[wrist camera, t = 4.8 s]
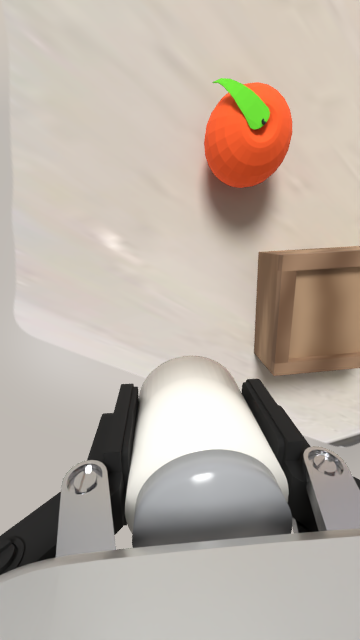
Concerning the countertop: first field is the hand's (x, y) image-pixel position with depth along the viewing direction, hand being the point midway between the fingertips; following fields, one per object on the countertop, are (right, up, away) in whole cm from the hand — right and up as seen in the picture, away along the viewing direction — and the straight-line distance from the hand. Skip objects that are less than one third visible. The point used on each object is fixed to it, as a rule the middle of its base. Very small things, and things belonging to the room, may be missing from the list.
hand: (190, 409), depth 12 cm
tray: (+14, +6, +18) cm, 24 cm away
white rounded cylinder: (0, 0, +1) cm, 1 cm away
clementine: (+4, +21, +12) cm, 24 cm away
